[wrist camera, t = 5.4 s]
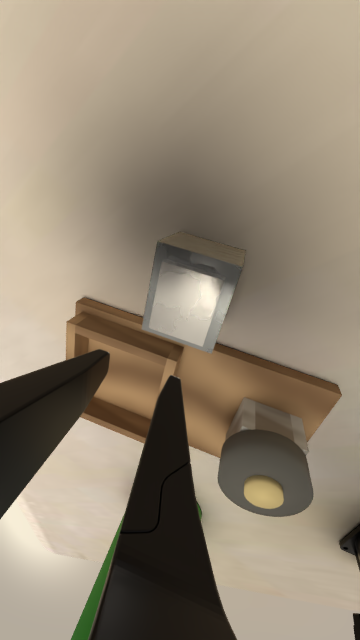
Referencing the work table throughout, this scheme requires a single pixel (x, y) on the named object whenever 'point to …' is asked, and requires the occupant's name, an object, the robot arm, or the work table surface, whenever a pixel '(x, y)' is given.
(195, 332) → the stepped grey block
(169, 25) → the work table surface
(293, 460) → the grey knob
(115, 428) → the wooden tray
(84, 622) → the motor
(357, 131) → the work table surface
